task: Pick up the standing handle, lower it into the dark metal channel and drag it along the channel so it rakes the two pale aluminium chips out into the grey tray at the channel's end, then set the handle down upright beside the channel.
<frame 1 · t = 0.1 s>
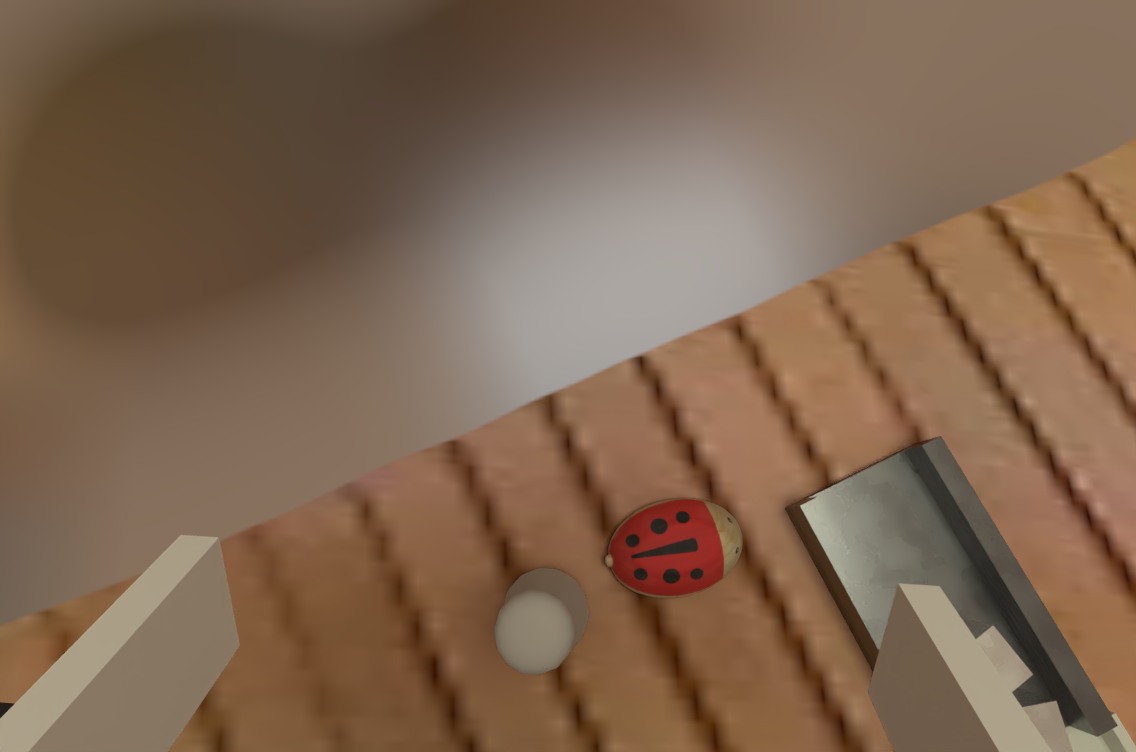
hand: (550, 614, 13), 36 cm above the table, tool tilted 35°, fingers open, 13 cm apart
ladybug figurine: (673, 546, 49), on the table
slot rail: (925, 605, 47), on the table
chip a: (961, 657, 45), point 1 cm above the table, touching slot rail
chip b: (1003, 721, 44), point 1 cm above the table, touching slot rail
salt shaker: (547, 608, 47), on the table
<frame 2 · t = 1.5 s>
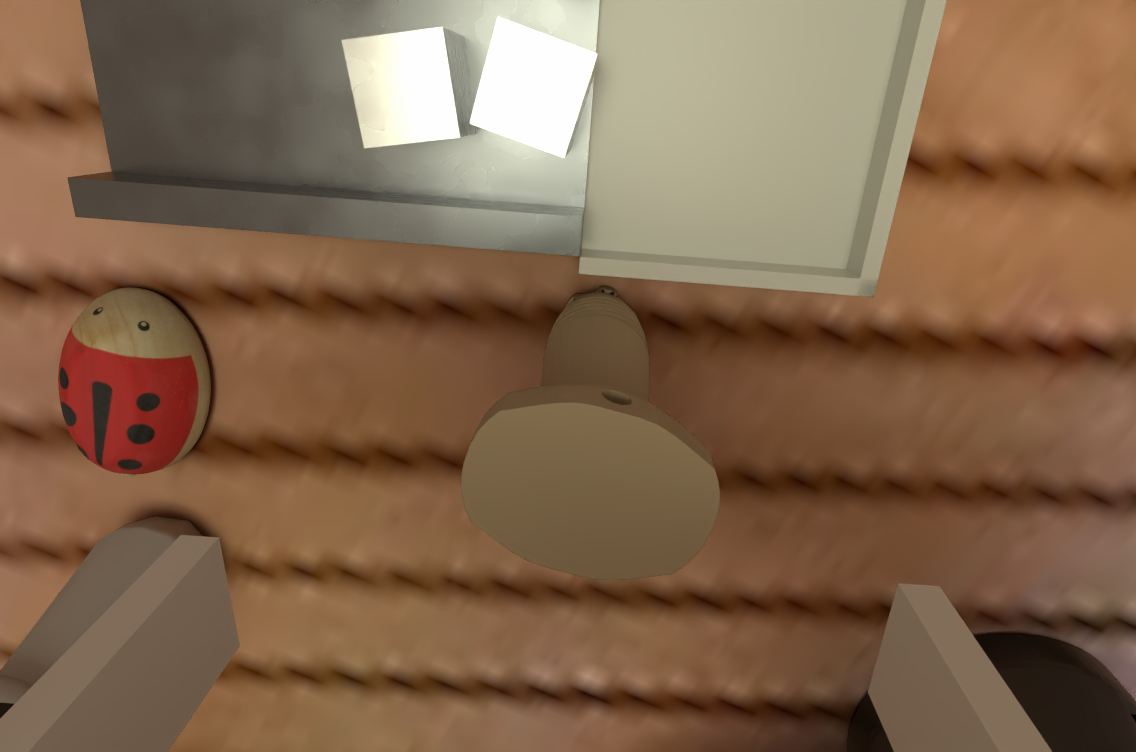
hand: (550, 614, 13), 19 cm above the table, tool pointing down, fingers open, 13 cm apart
ladybug figurine: (154, 374, 33), on the table
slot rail: (348, 85, 27), on the table
chip a: (427, 91, 26), point 1 cm above the table, touching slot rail
tray: (741, 114, 27), on the table
handle: (598, 316, 31), on the table
chip b: (541, 91, 26), point 1 cm above the table, touching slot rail
salt shaker: (178, 544, 37), on the table
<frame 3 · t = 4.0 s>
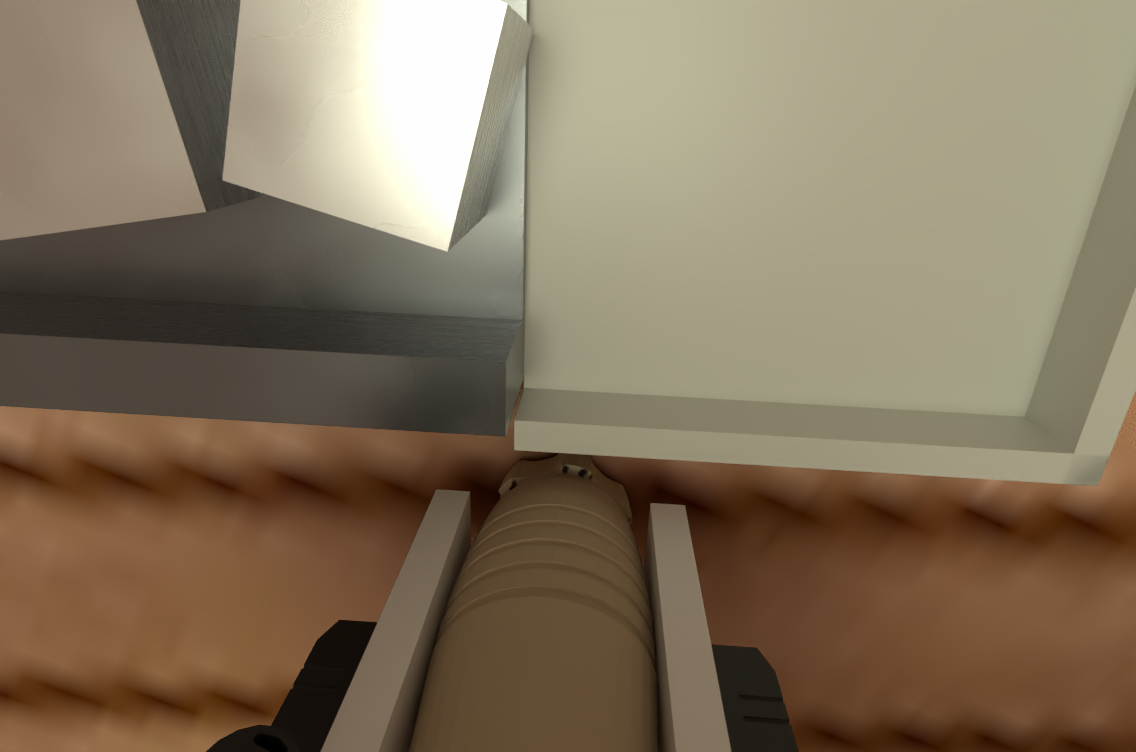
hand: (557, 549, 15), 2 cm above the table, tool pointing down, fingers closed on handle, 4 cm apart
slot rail: (55, 97, 14), on the table
chip a: (191, 104, 13), point 1 cm above the table, touching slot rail
tray: (827, 130, 13), on the table
handle: (563, 493, 17), on the table, touching gripper
chip b: (420, 97, 13), point 1 cm above the table, touching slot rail
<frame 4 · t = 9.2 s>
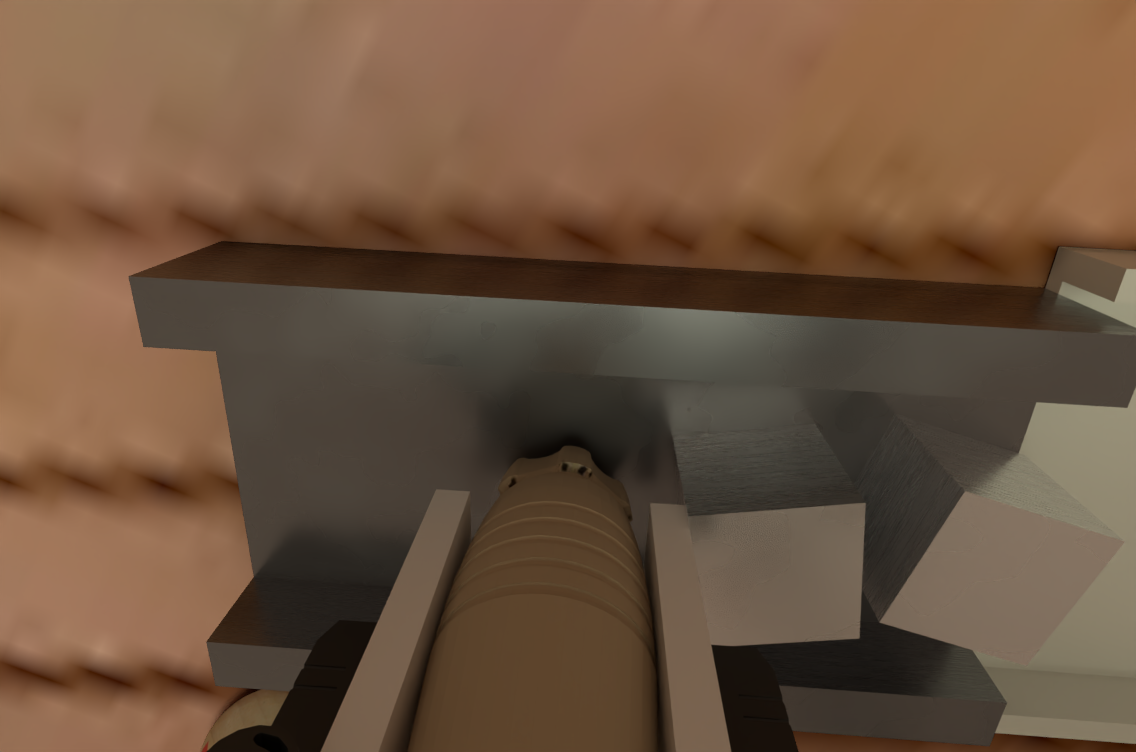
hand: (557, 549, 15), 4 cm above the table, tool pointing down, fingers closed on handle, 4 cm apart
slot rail: (609, 461, 18), on the table
chip a: (744, 490, 17), point 1 cm above the table, touching gripper, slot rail
handle: (563, 490, 17), point 1 cm above the table, touching gripper
chip b: (923, 491, 17), point 1 cm above the table, touching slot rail
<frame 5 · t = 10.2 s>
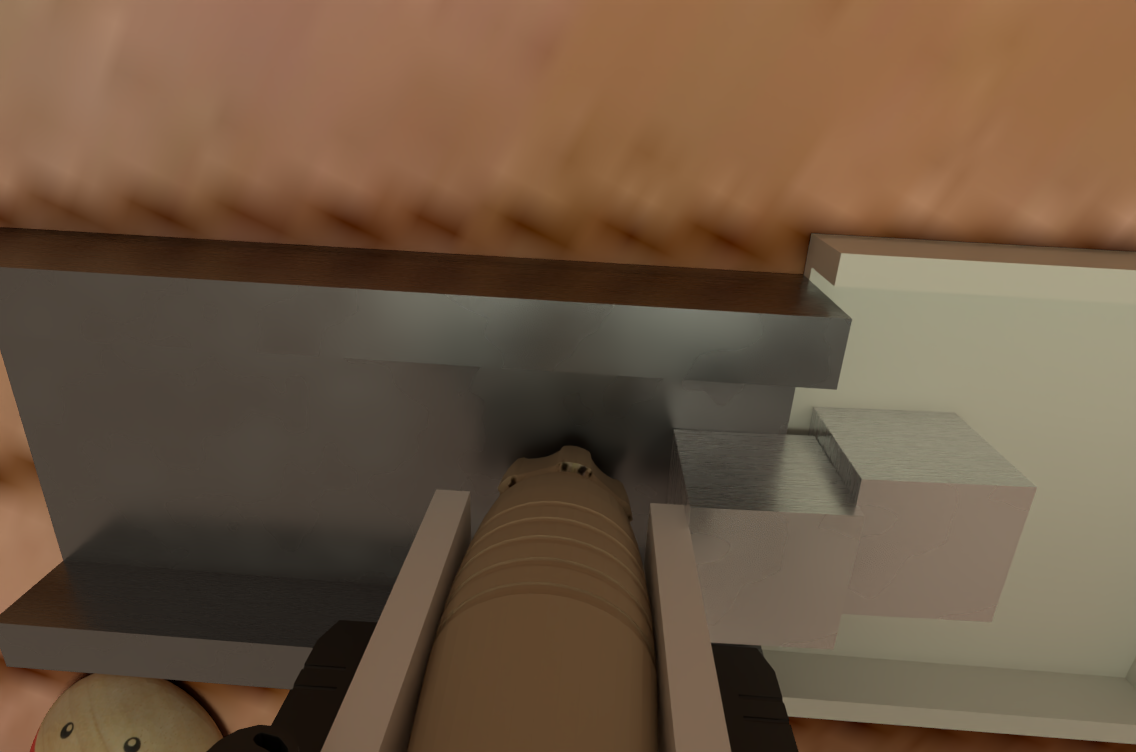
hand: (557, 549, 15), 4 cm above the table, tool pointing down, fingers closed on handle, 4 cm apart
ladybug figurine: (157, 749, 25), on the table
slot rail: (404, 447, 19), on the table
chip a: (734, 492, 17), point 1 cm above the table, touching gripper
tray: (990, 487, 18), on the table
handle: (563, 490, 17), point 1 cm above the table, touching gripper
chip b: (870, 469, 18), point 1 cm above the table, touching tray
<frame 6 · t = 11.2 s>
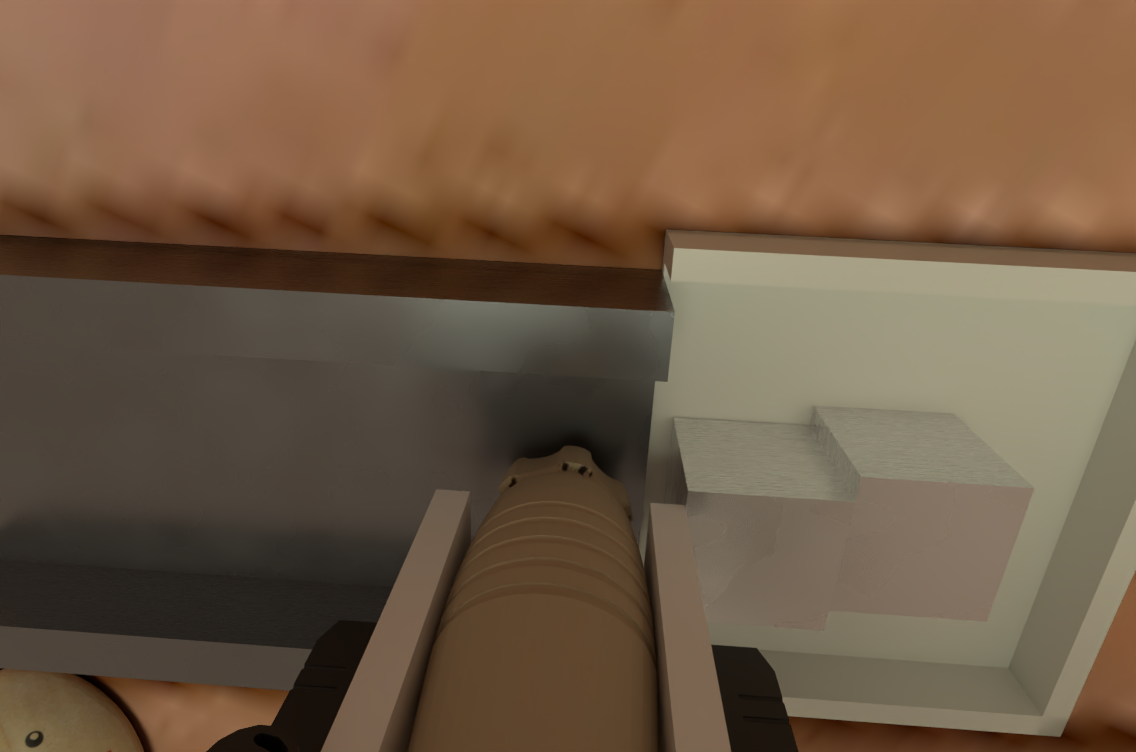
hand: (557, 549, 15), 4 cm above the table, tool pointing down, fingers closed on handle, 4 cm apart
ladybug figurine: (76, 744, 25), on the table
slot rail: (288, 442, 19), on the table
chip a: (732, 479, 18), point 1 cm above the table, touching chip b, gripper
tray: (862, 479, 18), on the table
handle: (563, 490, 17), point 2 cm above the table, touching gripper
chip b: (868, 469, 18), point 1 cm above the table, touching chip a
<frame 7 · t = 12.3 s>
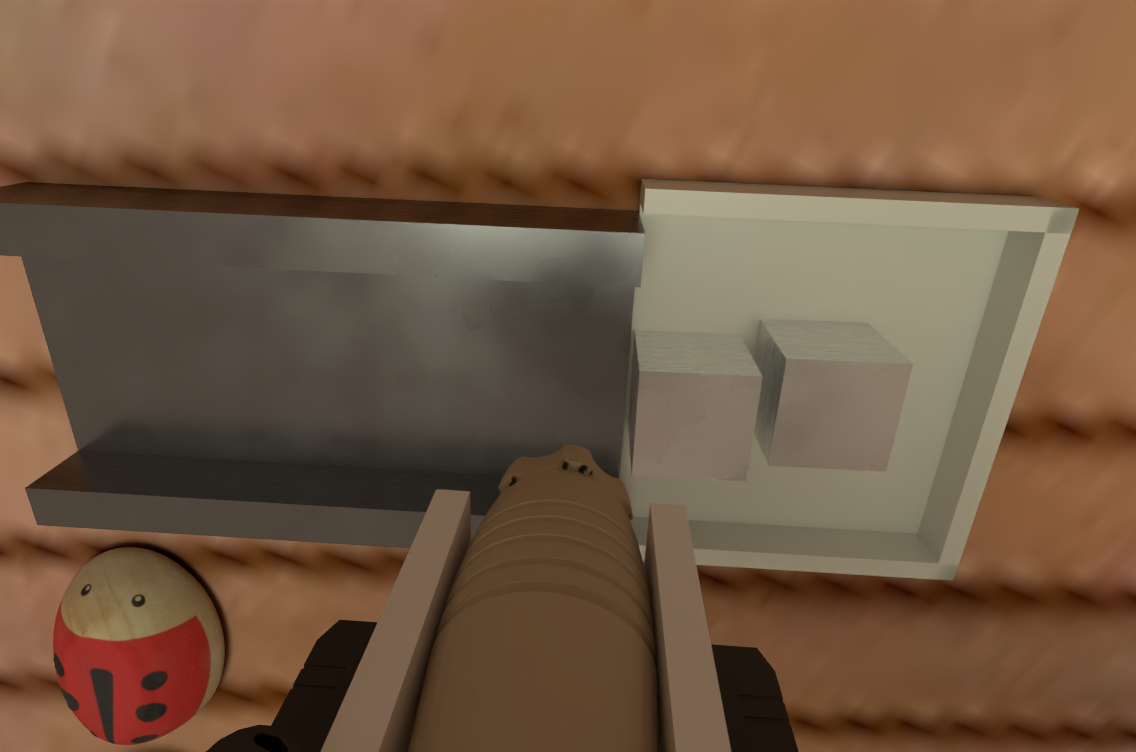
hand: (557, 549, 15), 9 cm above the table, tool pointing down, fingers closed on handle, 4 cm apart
ladybug figurine: (160, 621, 30), on the table
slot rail: (344, 354, 24), on the table
chip a: (682, 380, 23), resting on tray
tray: (798, 379, 23), on the table
handle: (563, 489, 17), point 7 cm above the table, touching gripper
chip b: (804, 369, 23), resting on tray
when the fingers open (3 cm above the table, at t = 16.9 s): handle stays where it is, on the table.
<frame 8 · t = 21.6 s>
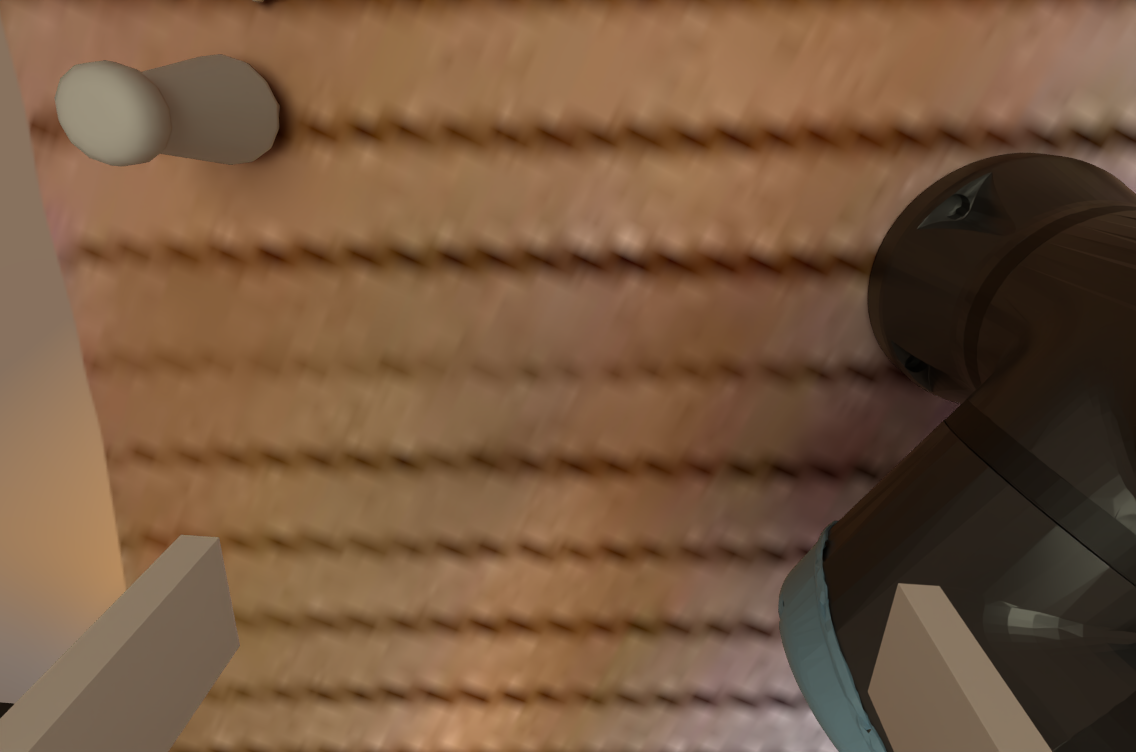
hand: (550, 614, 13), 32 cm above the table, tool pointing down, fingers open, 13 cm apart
salt shaker: (249, 110, 40), on the table
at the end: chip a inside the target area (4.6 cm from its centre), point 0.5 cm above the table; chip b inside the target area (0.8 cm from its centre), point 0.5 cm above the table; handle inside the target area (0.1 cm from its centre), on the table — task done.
